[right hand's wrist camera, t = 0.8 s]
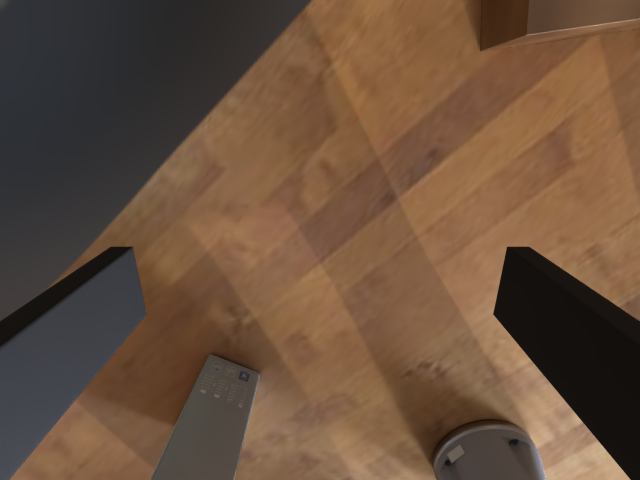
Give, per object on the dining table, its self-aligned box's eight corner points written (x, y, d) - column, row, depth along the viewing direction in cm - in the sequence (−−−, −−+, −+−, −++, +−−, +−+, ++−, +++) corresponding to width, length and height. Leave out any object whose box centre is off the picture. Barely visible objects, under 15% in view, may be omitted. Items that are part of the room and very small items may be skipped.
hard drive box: (208, 350, 47) (134, 513, 28) (261, 371, 48) (224, 540, 29) (172, 428, 52) (88, 611, 33) (221, 445, 53) (167, 631, 34)
